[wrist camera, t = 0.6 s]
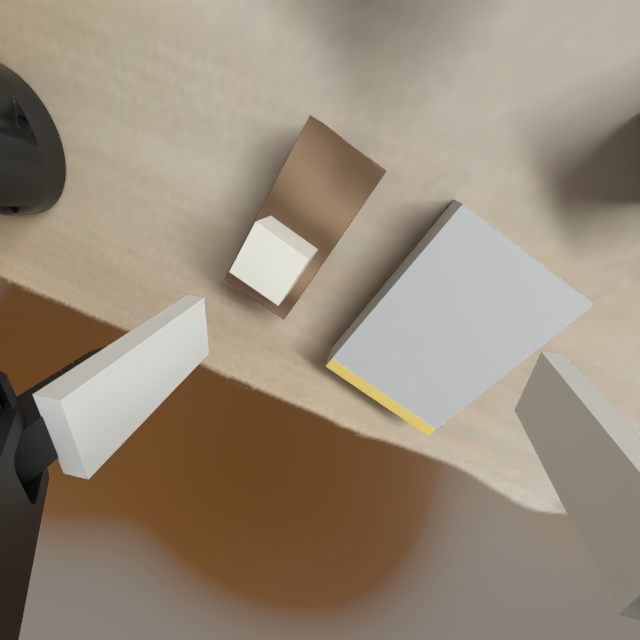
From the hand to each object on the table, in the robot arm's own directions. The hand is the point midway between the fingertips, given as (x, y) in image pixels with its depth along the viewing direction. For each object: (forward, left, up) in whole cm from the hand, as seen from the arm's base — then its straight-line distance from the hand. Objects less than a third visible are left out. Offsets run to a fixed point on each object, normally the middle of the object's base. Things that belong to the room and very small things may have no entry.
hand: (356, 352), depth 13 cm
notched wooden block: (-7, -2, -22) cm, 23 cm away
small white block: (-7, -5, -17) cm, 19 cm away
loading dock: (+10, -3, -22) cm, 24 cm away
